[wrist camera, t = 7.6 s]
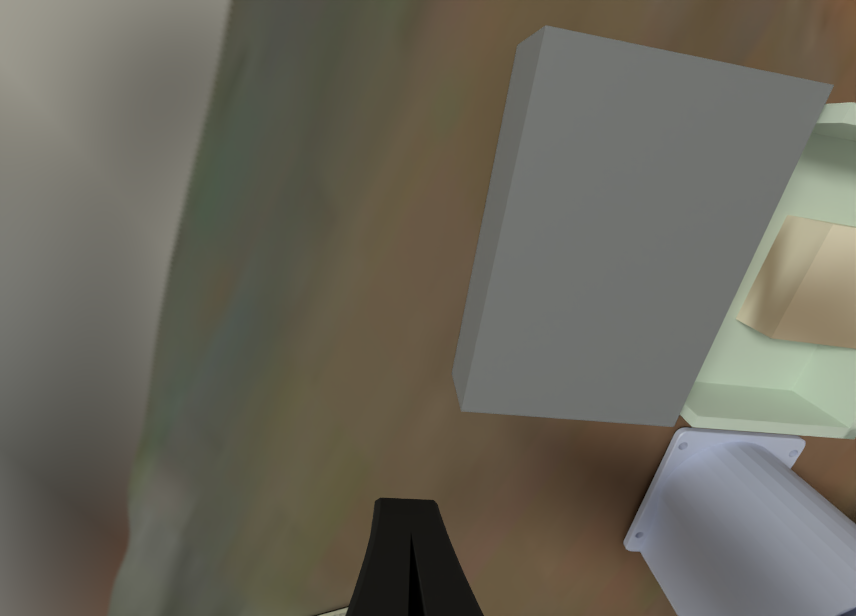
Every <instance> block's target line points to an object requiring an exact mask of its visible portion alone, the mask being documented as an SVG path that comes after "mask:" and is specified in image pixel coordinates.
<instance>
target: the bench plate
mask: <svg viewBox="0 0 856 616" xmlns="http://www.w3.org/2000/svg"><path fill="white" fill-rule="evenodd" d="M833 86H834V85H831V84H826V83H821V82H816V81H811V80H807V79H802V78H797V77H792V76H787V75H782V74H778V73H773V72H768V71H763V70H758V69H754V68H749V67H744V66H739V65H734V64H729V63H725V62H720V61H715V60H710V59H705V58H700V57H696V56H691V55H686V54H681V53H676V52H672V51H667V50H662V49H657V48H652V47H647V46H643V45H638V44H633V43H628V42H623V41H618V40H614V39H609V38H604V37H599V36H594V35H590V34H585V33H580V32H575V31H570V30H565V29H561V28H556V27H551V26H544V27H543V28H541V29H540V30H538V31H537V32H536V33H534V34H533V35H531V36H530V37H528V38H527V39H526V40H524V41H523V42H521V43H520V44H518V45H517V50H516V55H515V60H514V65H513V70H512V75H511V80H510V85H509V90H508V95H507V100H506V105H505V110H504V115H503V120H502V125H501V130H500V135H499V140H498V145H497V150H496V155H495V160H494V165H493V170H492V175H491V180H490V185H489V190H488V195H487V200H486V205H485V210H484V215H483V220H482V225H481V230H480V235H479V240H478V245H477V250H476V255H475V260H474V265H473V270H472V275H471V280H470V285H469V290H468V295H467V300H466V305H465V310H464V315H463V320H462V325H461V330H460V335H459V340H458V345H457V350H456V355H455V360H454V365H453V370H452V376H453V380H454V384H455V388H456V392H457V396H458V400H459V404H460V408H461V411H466V412H479V413H493V414H506V415H520V416H533V417H547V418H560V419H574V420H587V421H601V422H614V423H628V424H641V425H655V426H669V427H674V425H675V423H676V421H677V419H678V417H679V414H680V412H681V410H682V408H683V406H684V404H685V402H686V399H687V397H688V395H689V393H690V391H691V389H692V387H693V385H694V382H695V380H696V378H697V376H698V374H699V372H700V370H701V367H702V365H703V363H704V361H705V359H706V357H707V355H708V353H709V350H710V348H711V346H712V344H713V342H714V340H715V338H716V335H717V333H718V331H719V329H720V327H721V325H722V323H723V321H724V318H725V316H726V314H727V312H728V310H729V308H730V306H731V304H732V301H733V299H734V297H735V295H736V293H737V291H738V289H739V286H740V284H741V282H742V280H743V278H744V276H745V274H746V272H747V269H748V267H749V265H750V263H751V261H752V259H753V257H754V254H755V252H756V250H757V248H758V246H759V244H760V242H761V240H762V237H763V235H764V233H765V231H766V229H767V227H768V225H769V222H770V220H771V218H772V216H773V214H774V212H775V210H776V208H777V205H778V203H779V201H780V199H781V197H782V195H783V193H784V191H785V188H786V186H787V184H788V182H789V180H790V178H791V176H792V173H793V171H794V169H795V167H796V165H797V163H798V161H799V159H800V156H801V154H802V152H803V150H804V148H805V146H806V144H807V141H808V139H809V137H810V135H811V133H812V131H813V129H814V127H815V124H816V122H817V120H818V118H819V116H820V114H821V112H822V109H823V107H824V105H825V103H826V101H827V99H828V97H829V95H830V92H831V90H832V88H833Z"/></svg>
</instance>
